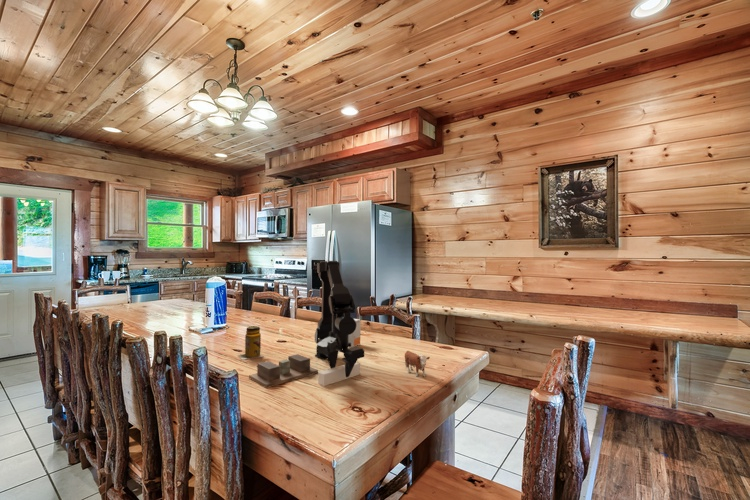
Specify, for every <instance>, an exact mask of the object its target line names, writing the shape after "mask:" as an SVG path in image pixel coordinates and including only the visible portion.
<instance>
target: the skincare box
mask: <svg viewBox="0 0 750 500" xmlns="http://www.w3.org/2000/svg"><path fill="white" fill-rule="evenodd" d="M353 319H354V320H355V322H356V329H355V331H354V332H353V333H352V334H350V335H349V343H351V346H349V347H348V348H351V347H358V346H360V345H361V327H362V326H361V324H362V323H361V322H362V321H361V319H359V318H353ZM357 345H358V346H357Z"/></svg>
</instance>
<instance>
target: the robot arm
mask: <svg viewBox="0 0 750 500" xmlns="http://www.w3.org/2000/svg"><path fill="white" fill-rule="evenodd" d="M340 264H341V263H340V262H339V261H337V260H320V262H318V263H317V266H316V272H317V273H318V274H317V275H318V277H319V279H320V281H321V317H320V319H319V320H318V322H317V325H316V328H315V333H314V342H315V343H316V348H315V349H316V352H315V353H316V354H315V355H314V357H315V358H320V359H322V360H327V361H328V364H329V367H330V368H329V369H331V368H335V367H337V362H338V356H339V353H342V354H343V357H342V358H341V360H342V361H343V362H344V365H345V374H346V377H349V375H350V373H351V371H352V369H353V367H354V365H355V363H356V362H358V360H359V359H361V358H365V349H363V348H362V347H360V346H355V347H349V346H351V343H349V335H350V334H352V333H353V332H354V331H355V329H356V322H355V320H354V319H355V318H353V317H352V316H351V315H352V314H353V313H354V314H355V312H356V311H355V310H356V304H355V300H354V298H353V295H352V294H351V292H350V289H349V288H348V287H346V286H345V284H344V282H343V278H342V274H341V265H340Z"/></svg>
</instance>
